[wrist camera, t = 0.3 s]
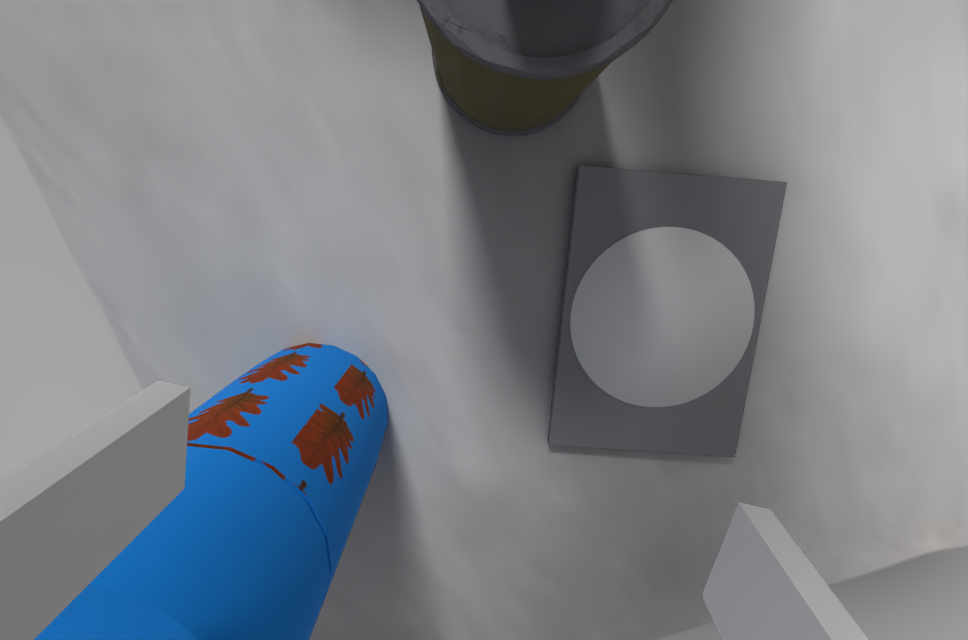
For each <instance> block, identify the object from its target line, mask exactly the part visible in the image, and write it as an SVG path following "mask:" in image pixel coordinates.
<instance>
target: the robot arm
mask: <svg viewBox="0 0 968 640" xmlns="http://www.w3.org/2000/svg"><path fill="white" fill-rule="evenodd" d="M189 401H190V387H186V386H181V385H176V384H171V383H167V382H162V381H156V382H155V383H153V384H152V385H150V386H148V387H147V388H145V389H143V390H142V391H140V392H139V393H137V394H135V395H134V396H132V397H131V398H129V399H127V400H126V401H124V402H123V403H121V404H120V405H118V406H116V407H115V408H113V409H111V410H110V411H108V412H107V413H105V414H103V415H102V416H100V417H98V418H97V419H95V420H94V421H92V422H90V423H89V424H87V425H86V426H84V427H82V428H81V429H79V430H78V431H76V432H74V433H73V434H71V435H69V436H68V437H66V438H65V439H63V440H61V441H60V442H58V443H57V444H55V445H53V446H52V447H50V448H49V449H47V450H45V451H44V452H42V453H40V454H39V455H38V456H36V457H34V458H32V459H31V460H29V461H28V462H26V463H24V464H23V465H21V466H20V467H18V468H16V469H15V470H13V471H11V472H10V473H8V474H7V475H5V476H4V477H2V478H0V640H34V639H35V638H36V637H37V636H38V635H39V634H40V633H41V632H42V631H43V630H44V629H45V628H46V627H47V626H48V625H49V624H50V623H51V622H52V621H53V620H54V619H55V618H56V617H57V616H58V615H59V614H60V613H61V612H62V611H63V610H64V609H65V608H66V607H67V606H68V605H69V604H70V603H71V602H72V601H73V600H74V599H75V598H76V597H77V596H78V595H79V594H80V593H81V592H82V591H83V590H84V589H85V588H86V587H87V586H88V585H89V584H90V583H91V582H92V581H93V580H94V579H95V578H96V577H97V576H98V575H99V574H100V573H101V572H102V571H103V570H104V569H105V568H106V567H107V566H108V565H109V564H110V563H111V562H112V561H113V560H114V559H115V558H116V557H117V556H118V555H119V554H120V553H121V552H122V551H123V550H124V549H125V548H126V547H127V546H128V545H129V544H130V543H131V542H132V541H133V540H134V539H135V538H136V537H137V536H138V535H139V534H140V533H141V532H142V531H143V529H144V528H145V527H146V526H147V525H148V524H149V523H150V522H151V521H152V520H153V519H154V518H155V517H156V516H157V515H158V514H159V513H160V512H161V511H162V510H163V509H164V508H165V507H166V506H167V505H168V504H169V503H170V502H171V501H172V500H173V499H174V498H175V497H176V496H177V495H178V494H179V493H180V492H181V491H182V490H183V489H184V488H185V470H186V453H187V436H188V418H189ZM702 597H703V600H704V602H705V604H706V606H707V609H708V611H709V613H710V615H711V618H712V620H713V622H714V624H715V626H716V628H717V631H718V633H719V635H720V638H721V640H868V638H867V637H866V636H865V634H864V633H863V632H862V630H861V629H860V628H859V626H858V625H857V624H856V622H855V621H854V620H853V618H852V617H851V616H850V615H849V613H848V612H847V610H846V609H845V608H844V607H843V605H842V604H841V602H840V601H839V600H838V598H837V597H836V596H835V594H834V593H833V592H832V591H831V589H830V588H829V587H828V585H827V584H826V583H825V581H824V580H823V579H822V577H821V576H820V575H819V573H818V572H817V571H816V569H815V568H814V567H813V565H812V564H811V563H810V561H809V560H808V559H807V557H806V556H805V555H804V553H803V552H802V551H801V549H800V548H799V547H798V545H797V544H796V543H795V541H794V540H793V539H792V537H791V536H790V535H789V533H788V532H787V531H786V530H785V528H784V527H783V526H782V524H781V523H780V522H779V520H778V519H777V518H776V516H775V515H774V514H773V512H772V511H771V510H770V509H768V508H763V507H758V506H753V505H749V504H744V503H738V505H737V508H736V510H735V513H734V515H733V518H732V520H731V523H730V525H729V528H728V530H727V533H726V535H725V538H724V540H723V543H722V545H721V548H720V550H719V553H718V555H717V558H716V560H715V563H714V565H713V568H712V570H711V573H710V575H709V578H708V580H707V583H706V585H705V588H704V590H703V593H702Z"/></svg>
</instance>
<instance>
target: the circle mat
mask: <svg viewBox="0 0 968 640" xmlns="http://www.w3.org/2000/svg"><path fill="white" fill-rule="evenodd" d="M786 185H787V182H777V181H765V180H753V179H740V178H728V177H716V176H704V175H692V174H680V173H667V172H655V171H643V170H631V169H619V168H607V167H594V166H582V165H579V166H578V168H577V177H576V186H575V195H574V204H573V213H572V222H571V231H570V241H569V250H568V259H567V268H566V277H565V286H564V295H563V304H562V313H561V322H560V331H559V340H558V350H557V359H556V368H555V377H554V386H553V395H552V404H551V413H550V422H549V431H548V444H549V445H558V446H573V447H588V448H603V449H619V450H634V451H649V452H664V453H679V454H694V455H709V456H725V457H735V453H736V448H737V443H738V438H739V432H740V427H741V422H742V416H743V411H744V406H745V401H746V395H747V390H748V385H749V380H750V374H751V369H752V364H753V358H754V353H755V348H756V343H757V337H758V332H759V327H760V322H761V316H762V311H763V306H764V301H765V295H766V290H767V285H768V279H769V274H770V269H771V264H772V258H773V253H774V248H775V243H776V237H777V232H778V227H779V221H780V216H781V211H782V206H783V200H784V195H785V190H786Z"/></svg>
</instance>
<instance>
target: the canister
mask: <svg viewBox="0 0 968 640" xmlns="http://www.w3.org/2000/svg"><path fill="white" fill-rule="evenodd" d="M417 1H418V3H419V5H420V8H421V12H422V15H423V19H424V22H425V26H426V29H427V32H428V36H429V39H430V43H431V46H432V56H433V64H434V69H435V74H436V77H437V80H438V83H439V85H440V87H441V89H442V91H443V93H444V94H445V96H446V98H447V99H448V101H449V103H450V104H451V105H452V106H453V108H454V109H455V110H456V111H457V112H458V113H459V114H460V115H461V116H462V117H463V118H465V119H466V120H467V121H469V122H471V123H472V124H474V125H476V126H477V127H479V128H481V129H483V130H485V131H489V132H492V133H496V134H502V135H525V134H529V133H532V132H536V131H539V130H542V129H544V128H546V127H548V126H550V125H552V124H553V123H555V122H556V121H558V120H559V119H560V118H562V117H563V116H564V115H565V114H566V113H567V112H568V111H569V110H570V109H571V108H572V107H573V106H574V104H575V103H576V102H577V100H578V99H579V97H580V95H581V94H582V92H583V91H584V90H585V88H586V87H587V86H588V85H589V84H590V83H591V82H592V81H593V80H594V79H595V78H596V77H597V76H598V75H599V74H600V73H601V72H602V71H603V70H604V69H605V68H606V67H607V66H608V65H609V64H610V63H611V62H612V61H613V60H615V59H616V58H618V57H619V56H620V55H622V54H623V53H625V52H626V51H627V50H629V49H630V48H631V47H633V46H634V45H636V44H637V43H638V42H639V41H640V40H641V39H642V38H643V37H645V36H646V35H647V34H648V33H649V31H650V30H651V29H652V28H653V27H654V26H655V25H656V24H657V22H658V21H659V20H660V19H661V17H662V16H663V14H664V13H665V11H666V10H667V8H668V6H669V5H670V3H671V2H672V0H417Z"/></svg>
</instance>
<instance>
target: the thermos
mask: <svg viewBox="0 0 968 640" xmlns="http://www.w3.org/2000/svg"><path fill="white" fill-rule="evenodd" d="M387 421H388V413H387V403H386V395H385V393H384V391H383V389H382V387H381V385H380V383H379V381H378V379H377V377H376V375H375V374H374V373H373V372H372V371H371V370H370V369H369V368H368V367H367V366H366V365H365V364H364V363H363V362H362V361H361V360H360V359H359V358H358V357H357V356H354V355H352V354H350V353H348V352H346V351H344V350H342V349H340V348H337V347H335V346H330V345H321V344H312V343H307V344H303V345H299V346H294V347H290V348H286V349H283V350H282V351H280V352H278V353H276V354H275V355H273V356H271V357H270V358H268V359H266V360H264V361H263V362H261V363H260V364H258V365H257V366H255V367H254V368H252V369H251V370H249V371H248V372H246V373H245V374H243V375H242V376H240V377H239V378H237V379H236V380H235V381H233V382H232V383H231V384H229V385H228V386H227V387H225V388H224V389H223V390H221V391H220V392H218V393H217V394H216V395H214V396H213V397H212V398H210V399H209V400H208V401H206V402H205V403H204V404H202V405H201V406H199V407H198V408H197V409H195V410H194V411H193V412H191V413H190V414H189V418H188V436H187V453H186V470H185V488H184V489H183V490H182V491H181V492H180V493H179V494H178V495H177V496H176V497H175V498H174V499H173V500H172V501H171V502H170V503H169V504H168V505H167V506H166V507H165V508H164V509H163V510H162V511H161V512H160V513H159V514H158V515H157V516H156V517H155V518H154V519H153V520H152V521H151V522H150V523H149V524H148V525H147V526H146V527H145V528H144V529H143V531H142V532H141V533H140V534H139V535H138V536H137V537H136V538H135V539H134V540H133V541H132V542H131V543H130V544H129V545H128V546H127V547H126V548H125V549H124V550H123V551H122V552H121V553H120V554H119V555H118V556H117V557H116V558H115V559H114V560H113V561H112V562H111V563H110V564H109V565H108V566H107V567H106V568H105V569H104V570H103V571H102V572H101V573H100V574H99V575H98V576H97V577H96V578H95V579H94V580H93V581H92V582H91V583H90V584H89V585H88V586H87V587H86V588H85V589H84V590H83V591H82V592H81V593H80V594H79V595H78V596H77V597H76V598H75V599H74V600H73V601H72V602H71V603H70V604H69V605H68V606H67V607H66V608H65V609H64V610H63V611H62V612H61V613H60V614H59V615H58V616H57V617H56V618H55V619H54V620H53V621H52V622H51V623H50V624H49V625H48V626H47V627H46V628H45V629H44V630H43V631H42V632H41V633H40V634H39V635H38V636H37V637H36V638H35V639H34V640H309V638H310V636H311V633H312V631H313V628H314V625H315V623H316V620H317V617H318V615H319V612H320V609H321V607H322V604H323V602H324V599H325V597H326V594H327V591H328V589H329V586H330V583H331V581H332V578H333V576H334V573H335V570H336V568H337V565H338V562H339V560H340V557H341V555H342V552H343V549H344V547H345V544H346V541H347V539H348V536H349V534H350V531H351V528H352V526H353V523H354V520H355V518H356V515H357V513H358V510H359V507H360V505H361V502H362V499H363V497H364V494H365V492H366V489H367V486H368V484H369V481H370V478H371V476H372V473H373V471H374V468H375V465H376V462H377V458H378V455H379V451H380V447H381V444H382V440H383V436H384V433H385V429H386V425H387Z"/></svg>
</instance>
